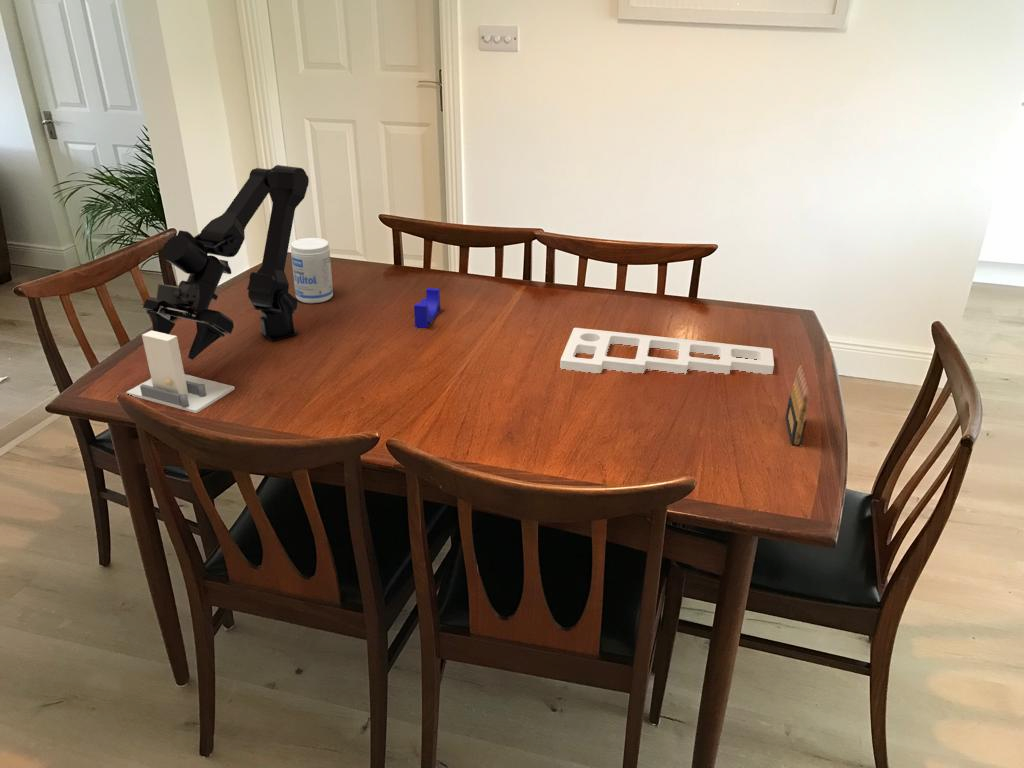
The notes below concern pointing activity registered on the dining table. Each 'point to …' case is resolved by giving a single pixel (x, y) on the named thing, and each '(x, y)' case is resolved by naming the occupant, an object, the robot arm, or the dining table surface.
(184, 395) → the slotted base plate
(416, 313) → the blue u-shaped block
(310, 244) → the supplement tub
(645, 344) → the holder
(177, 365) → the door panel
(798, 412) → the tan blue flat packet
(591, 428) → the dining table surface
